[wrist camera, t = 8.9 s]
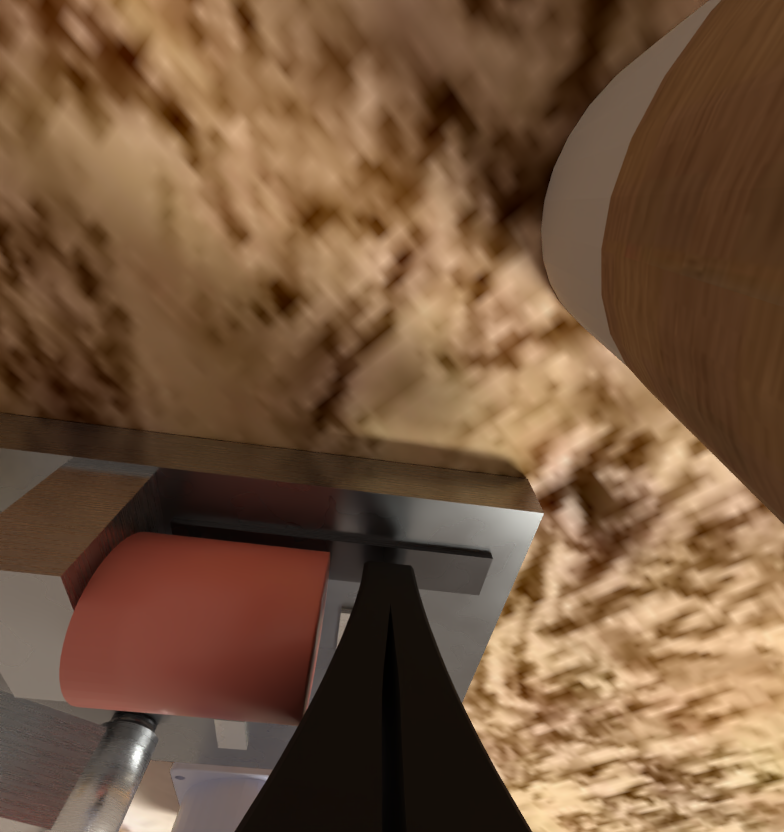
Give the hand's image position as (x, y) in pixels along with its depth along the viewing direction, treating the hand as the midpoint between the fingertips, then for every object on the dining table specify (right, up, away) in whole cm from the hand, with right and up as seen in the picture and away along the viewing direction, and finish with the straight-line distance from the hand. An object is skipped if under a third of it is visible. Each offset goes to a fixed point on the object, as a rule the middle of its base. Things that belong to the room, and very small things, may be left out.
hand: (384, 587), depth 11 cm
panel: (-8, -3, +4) cm, 10 cm away
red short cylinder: (-4, +1, 0) cm, 4 cm away
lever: (-13, -6, +4) cm, 15 cm away
